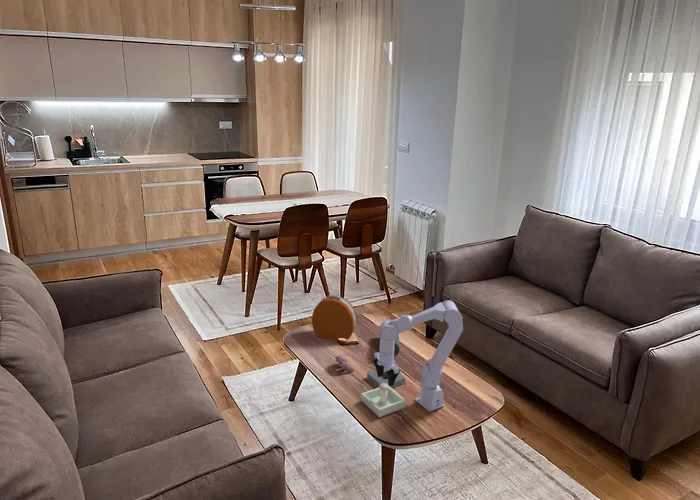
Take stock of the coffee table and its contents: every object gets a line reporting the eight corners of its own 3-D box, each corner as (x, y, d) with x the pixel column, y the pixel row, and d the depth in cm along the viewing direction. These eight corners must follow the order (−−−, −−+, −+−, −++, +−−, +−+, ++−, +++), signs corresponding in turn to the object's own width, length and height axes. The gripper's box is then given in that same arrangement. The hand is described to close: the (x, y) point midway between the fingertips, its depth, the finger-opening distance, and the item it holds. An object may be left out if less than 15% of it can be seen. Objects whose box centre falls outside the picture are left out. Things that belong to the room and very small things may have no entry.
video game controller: (338, 366, 234) (332, 355, 231) (346, 360, 235) (340, 350, 232) (346, 377, 225) (339, 366, 222) (354, 371, 226) (348, 360, 223)
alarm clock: (357, 334, 262) (358, 294, 255) (352, 342, 253) (353, 301, 246) (317, 328, 267) (317, 289, 260) (311, 336, 258) (311, 296, 251)
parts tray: (405, 407, 201) (406, 400, 200) (378, 417, 195) (379, 410, 194) (387, 391, 212) (387, 384, 211) (361, 400, 206) (361, 393, 205)
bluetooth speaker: (400, 360, 237) (401, 341, 234) (380, 359, 237) (381, 340, 234) (397, 337, 259) (397, 320, 256) (379, 337, 259) (379, 319, 256)
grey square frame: (405, 383, 218) (405, 378, 218) (382, 391, 213) (382, 385, 212) (389, 370, 228) (389, 365, 227) (367, 377, 222) (367, 372, 222)
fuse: (389, 403, 203) (390, 386, 201) (382, 406, 201) (383, 389, 199) (383, 399, 206) (384, 382, 204) (376, 402, 204) (377, 384, 202)
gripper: (368, 345, 201) (367, 375, 205) (389, 361, 189) (388, 392, 194) (382, 341, 205) (381, 370, 209) (404, 356, 193) (402, 387, 197)
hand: (385, 380), depth 201 cm, fingers open, 7 cm apart
